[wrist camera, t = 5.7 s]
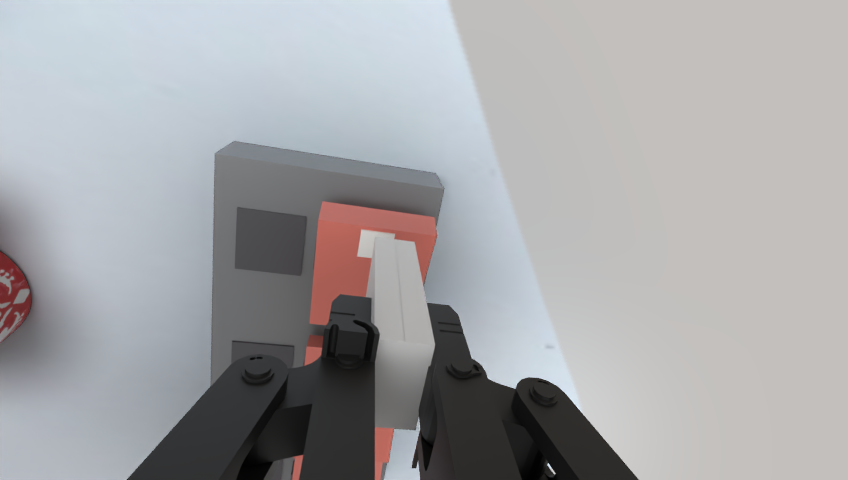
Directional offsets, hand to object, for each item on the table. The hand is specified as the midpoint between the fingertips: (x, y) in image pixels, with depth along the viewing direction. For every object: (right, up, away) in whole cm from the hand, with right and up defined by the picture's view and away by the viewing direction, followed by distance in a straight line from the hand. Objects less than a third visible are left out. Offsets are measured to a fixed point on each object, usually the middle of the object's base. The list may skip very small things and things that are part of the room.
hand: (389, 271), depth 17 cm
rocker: (-2, -1, +7) cm, 7 cm away
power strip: (-7, -8, +15) cm, 18 cm away
